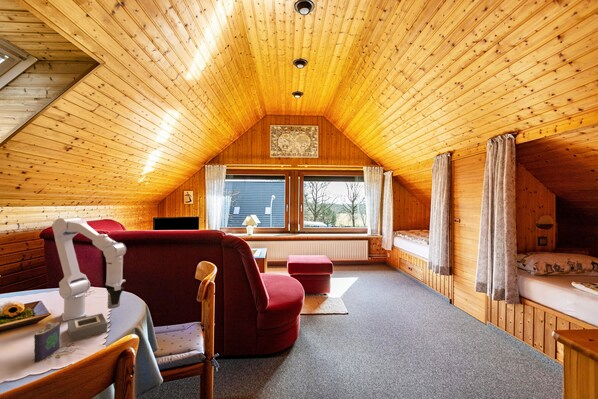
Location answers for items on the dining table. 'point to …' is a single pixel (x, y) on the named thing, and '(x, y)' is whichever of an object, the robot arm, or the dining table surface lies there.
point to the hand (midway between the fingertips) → (113, 302)
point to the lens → (111, 303)
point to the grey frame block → (86, 327)
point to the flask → (47, 341)
